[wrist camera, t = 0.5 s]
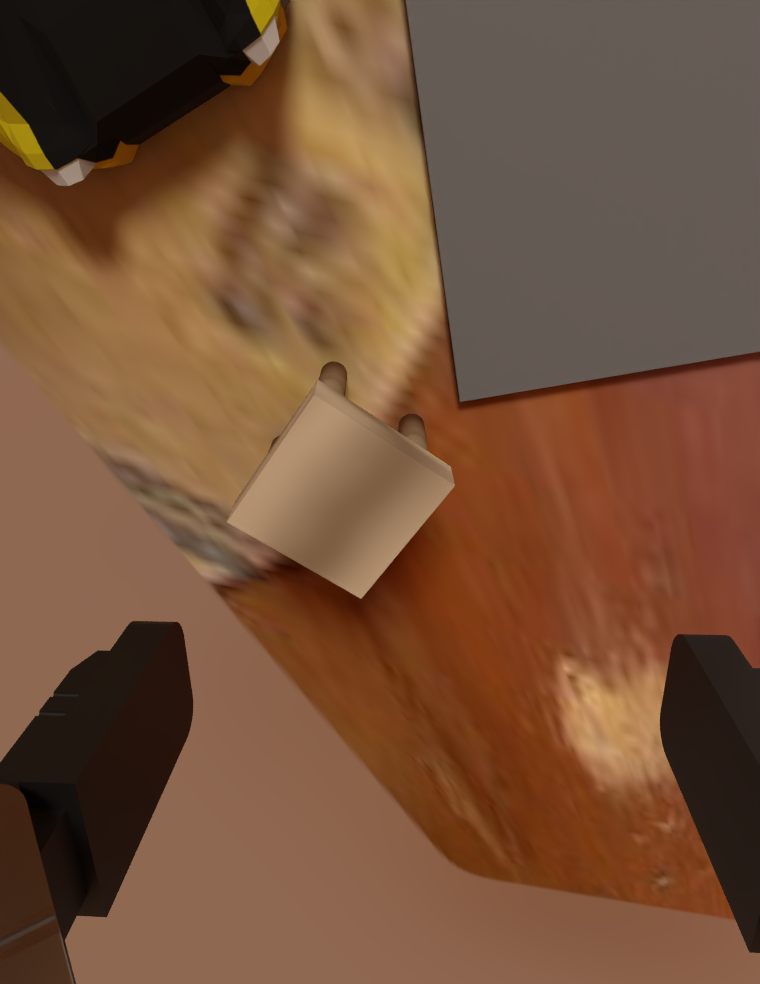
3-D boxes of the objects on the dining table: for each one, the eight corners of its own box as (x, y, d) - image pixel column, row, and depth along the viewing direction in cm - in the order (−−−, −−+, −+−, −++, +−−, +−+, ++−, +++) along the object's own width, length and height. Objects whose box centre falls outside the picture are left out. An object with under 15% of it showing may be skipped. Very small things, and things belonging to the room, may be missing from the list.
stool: (255, 451, 34) (226, 521, 28) (327, 344, 32) (314, 394, 26) (364, 518, 36) (361, 599, 30) (441, 420, 33) (454, 486, 27)
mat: (394, -81, 25) (394, -86, 24) (833, -180, 24) (843, -187, 23) (458, 397, 33) (460, 401, 32) (791, 341, 32) (798, 345, 31)
